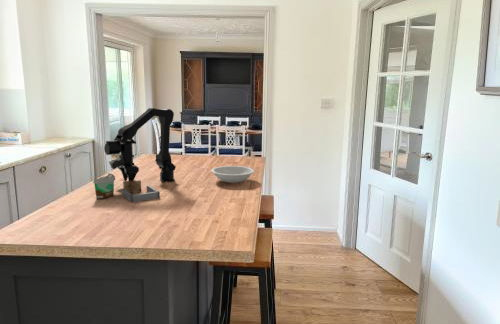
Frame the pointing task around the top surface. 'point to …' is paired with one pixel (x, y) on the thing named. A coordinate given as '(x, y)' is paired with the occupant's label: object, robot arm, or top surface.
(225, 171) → the soup bowl
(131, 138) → the robot arm
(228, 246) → the top surface
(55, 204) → the top surface
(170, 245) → the top surface
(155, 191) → the corral
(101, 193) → the food container
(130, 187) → the wooden t-shaped block
